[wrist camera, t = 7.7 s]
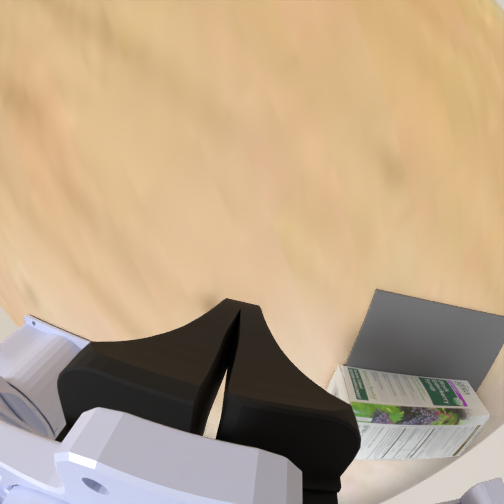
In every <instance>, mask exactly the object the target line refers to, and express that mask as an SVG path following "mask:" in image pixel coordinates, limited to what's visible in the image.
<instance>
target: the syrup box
mask: <svg viewBox="0 0 504 504" xmlns="http://www.w3.org/2000/svg"><path fill="white" fill-rule="evenodd" d="M326 391H327V392H328V393H330V394H332V395H334V396H336V397H337V398H339V399H341V400H343V401H345V402H346V403H348V404H350V405H351V406H352V409H353V412H354V414H355V417H356V420H357V423H358V427H359V431H360V436H361V448H360V450H359V451H358V453H357V455H356V457H355V458H354V460H418V459H435V458H446V457H456V456H459V455H460V454H461V453H462V452H463V451H464V450H465V449H466V448H467V447H468V445H469V444H470V443H471V442H472V441H473V440H474V439H475V437H476V436H477V435H478V434H479V432H480V431H481V430H482V428H483V427H484V425H485V424H486V423H487V421H488V420H489V418H490V416H491V415H490V413H489V412H488V411H487V409H486V407H485V406H484V404H483V403H482V402H481V400H480V399H479V397H478V396H477V394H476V393H475V391H474V390H473V388H472V387H471V385H470V384H469V383H468V381H467V380H455V379H443V378H432V377H421V376H413V375H405V374H397V373H389V372H382V371H375V370H368V369H362V368H356V367H350V366H344V365H338V367H337V369H336V371H335V373H334V375H333V377H332V380H331V382H330V384H329V386H328V388H327V390H326Z"/></svg>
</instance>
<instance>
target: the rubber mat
mask: <svg viewBox="0 0 504 504" xmlns="http://www.w3.org/2000/svg"><path fill="white" fill-rule="evenodd" d="M503 344H504V316H500V315H495V314H491V313H486V312H481V311H476V310H472V309H467V308H462V307H457V306H453V305H448V304H443V303H439V302H434V301H429V300H425V299H420V298H415V297H411V296H406V295H402V294H397V293H392V292H388V291H383V290H379V289H376V290H375V293H374V296H373V299H372V301H371V304H370V307H369V309H368V312H367V315H366V317H365V320H364V322H363V325H362V327H361V330H360V332H359V335H358V337H357V340H356V342H355V344H354V347H353V349H352V351H351V354H350V356H349V358H348V361H347V363H346V365H345V366H350V367H356V368H362V369H368V370H375V371H382V372H389V373H397V374H405V375H413V376H421V377H432V378H443V379H455V380H467V381H468V383H469V384H470V385H471V387H472V388H473V390H474V391H475V392H476V391H477V389H478V388H479V386H480V385H481V383H482V381H483V380H484V378H485V376H486V375H487V373H488V371H489V370H490V368H491V366H492V364H493V363H494V361H495V359H496V357H497V355H498V353H499V352H500V350H501V348H502V346H503Z"/></svg>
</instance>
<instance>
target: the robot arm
mask: <svg viewBox="0 0 504 504" xmlns="http://www.w3.org/2000/svg"><path fill="white" fill-rule="evenodd" d="M24 319H25V324H24V325H23V326H21V327H20V328H19V329H17V330H16V331H15V332H14V333H12V334H11V335H10V336H9V337H7V338H6V339H5V340H3V341H2V342H1V343H0V504H338V500H337V492H339V491H340V489H341V481H340V476H341V475H342V474H343V473H344V471H345V470H346V469H347V467H348V466H349V465H350V464H351V462H352V461H353V460H354V458H355V457H356V455H357V453H358V451H359V450H360V448H361V436H360V431H359V427H358V423H357V420H356V417H355V414H354V412H353V409H352V406H351V405H350V404H348V403H346V402H345V401H343V400H341V399H339V398H337V397H336V396H334V395H332V394H330V393H328V392H327V391H325V390H324V389H323V388H321V387H320V386H318V385H317V384H315V383H314V382H313V381H312V380H310V379H309V378H308V377H307V376H305V375H304V374H303V373H302V372H301V371H300V370H299V369H298V368H297V367H296V366H295V365H294V364H293V363H292V362H291V361H290V360H289V359H288V357H287V356H286V355H285V354H284V353H283V351H282V350H281V349H280V347H279V346H278V344H277V342H276V341H275V339H274V337H273V336H272V334H271V332H270V330H269V328H268V326H267V324H266V321H265V319H264V316H263V314H262V310H261V308H260V306H258V305H254V304H249V303H245V302H241V301H236V300H232V299H228V298H226V299H224V300H223V301H222V302H220V303H219V304H218V305H217V306H215V307H214V308H213V309H211V310H210V311H208V312H207V313H205V314H204V315H202V316H201V317H199V318H198V319H196V320H194V321H192V322H190V323H189V324H187V325H185V326H183V327H180V328H178V329H175V330H172V331H170V332H167V333H163V334H159V335H156V336H152V337H148V338H143V339H137V340H129V341H118V342H90V341H88V340H85V339H83V338H80V337H78V336H75V335H73V334H71V333H68V332H66V331H63V330H61V329H59V328H57V327H54V326H52V325H50V324H48V323H45V322H43V321H41V320H39V319H37V318H35V317H32V316H30V315H28V314H27V315H26V316H25V317H24ZM227 367H228V368H227ZM226 370H227V375H226V383H225V391H224V399H223V407H222V414H221V419H220V423H219V427H218V431H217V436H216V439H212V438H208V437H204V436H203V433H204V430H205V426H206V423H207V419H208V416H209V413H210V410H211V408H212V405H213V403H214V400H215V398H216V395H217V393H218V390H219V388H220V385H221V383H222V380H223V378H224V375H225V373H226ZM437 504H504V484H503V482H502V479H501V478H496V479H493V480H489V481H485V482H481V483H479V484H476V485H475V486H473V487H472V488H470V489H469V490H468V491H467V492H466V493H465V494H464V495H463V496H462V497H461V498H460V499H456V500H452V501H448V502H442V503H437Z"/></svg>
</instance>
